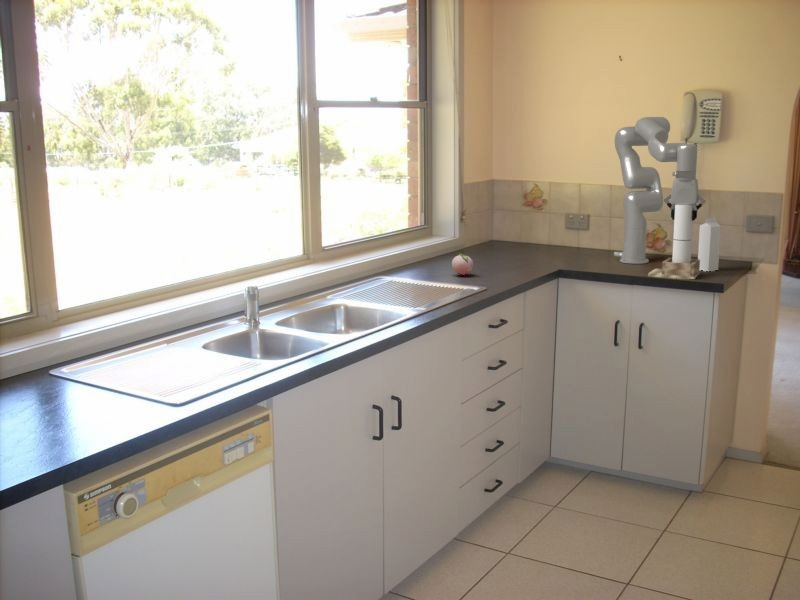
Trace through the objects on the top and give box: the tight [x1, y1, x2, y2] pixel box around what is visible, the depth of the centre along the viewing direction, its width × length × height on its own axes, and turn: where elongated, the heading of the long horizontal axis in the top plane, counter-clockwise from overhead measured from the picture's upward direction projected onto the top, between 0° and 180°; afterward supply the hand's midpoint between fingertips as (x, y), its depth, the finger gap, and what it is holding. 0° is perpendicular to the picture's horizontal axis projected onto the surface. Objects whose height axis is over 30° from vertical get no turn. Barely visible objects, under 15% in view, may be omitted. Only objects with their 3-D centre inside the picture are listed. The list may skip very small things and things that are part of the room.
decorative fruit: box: [451, 251, 474, 276], centre depth 356 cm, size 9×8×10 cm
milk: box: [697, 217, 722, 273], centre depth 360 cm, size 6×6×22 cm
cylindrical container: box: [671, 204, 694, 264], centre depth 347 cm, size 7×7×25 cm
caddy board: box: [647, 257, 701, 280], centre depth 351 cm, size 18×13×6 cm
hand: (683, 219), depth 345 cm, fingers closed on cylindrical container, 7 cm apart
